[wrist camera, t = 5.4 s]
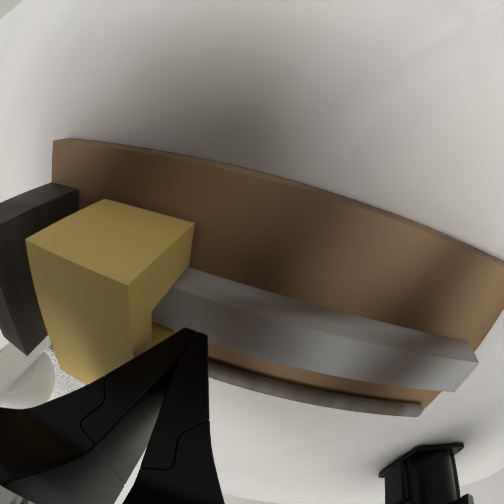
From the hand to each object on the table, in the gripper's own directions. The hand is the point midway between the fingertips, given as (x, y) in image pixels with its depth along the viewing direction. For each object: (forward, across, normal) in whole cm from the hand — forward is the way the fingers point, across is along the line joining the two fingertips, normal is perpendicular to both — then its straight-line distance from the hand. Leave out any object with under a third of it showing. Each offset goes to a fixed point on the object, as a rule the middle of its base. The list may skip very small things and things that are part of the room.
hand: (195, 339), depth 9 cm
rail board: (+4, -2, 0) cm, 4 cm away
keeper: (+2, +3, 0) cm, 4 cm away
